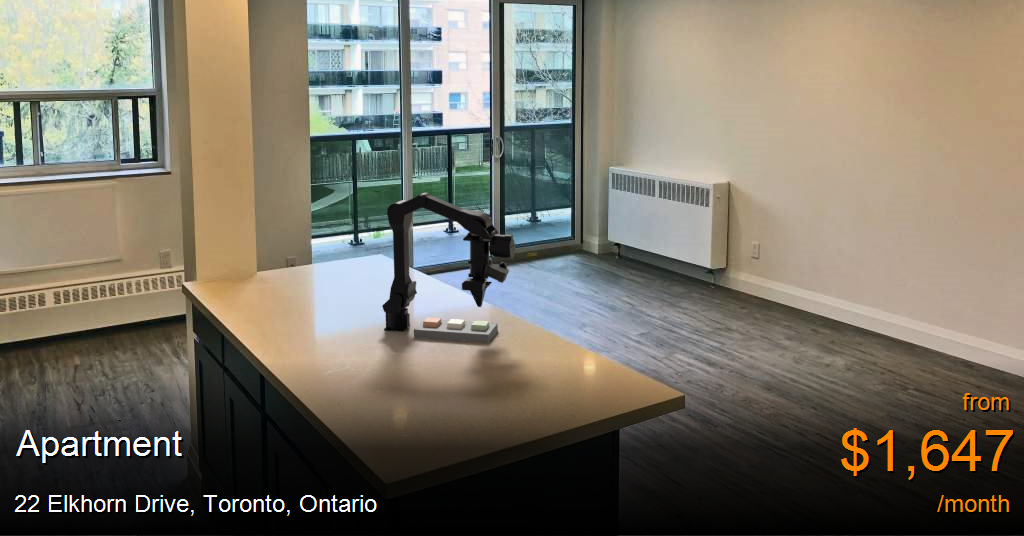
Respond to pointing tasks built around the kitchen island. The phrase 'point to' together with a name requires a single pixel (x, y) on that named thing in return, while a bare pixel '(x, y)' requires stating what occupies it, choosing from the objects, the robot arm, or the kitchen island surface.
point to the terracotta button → (432, 322)
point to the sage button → (480, 325)
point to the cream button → (456, 324)
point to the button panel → (456, 332)
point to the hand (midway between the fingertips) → (479, 306)
